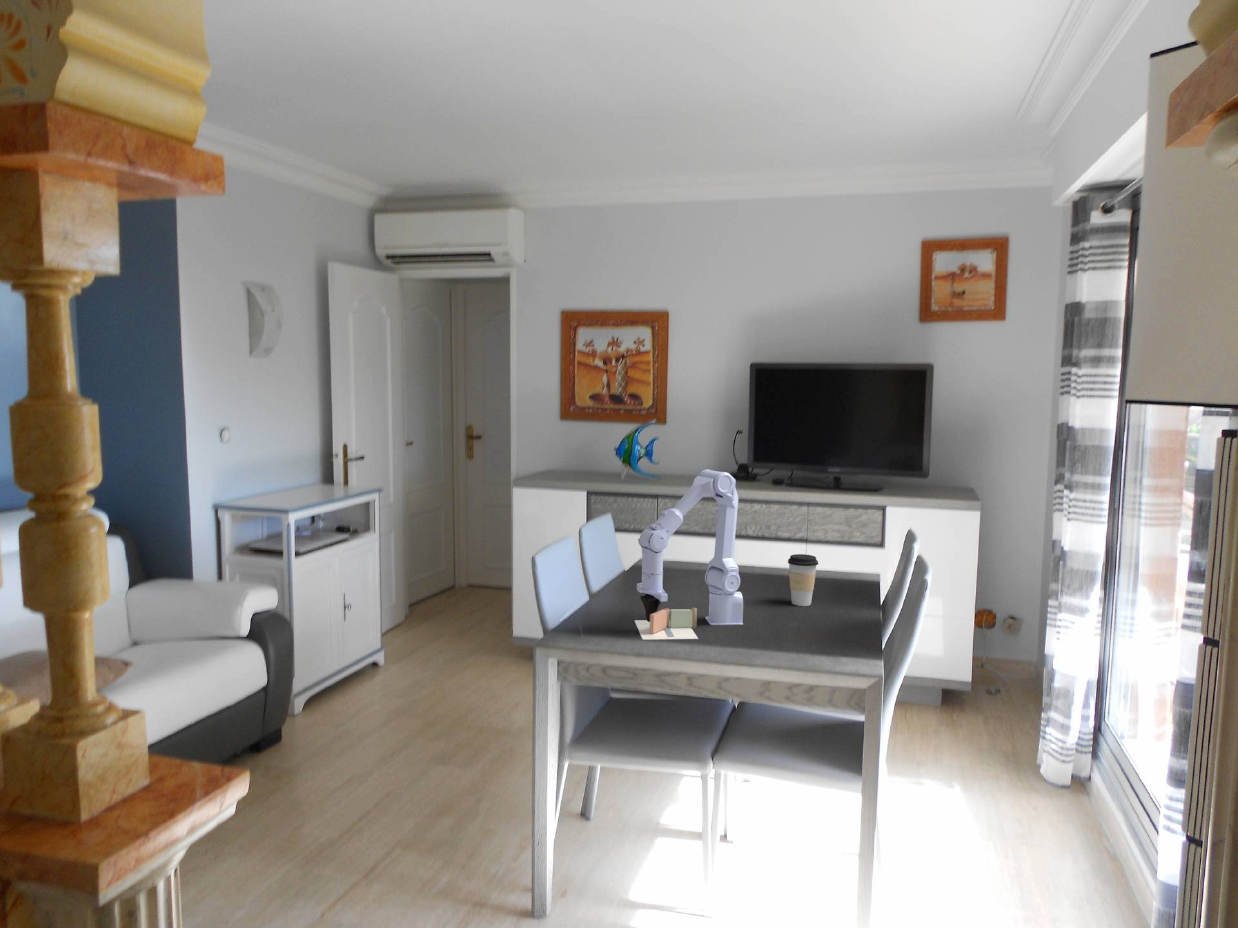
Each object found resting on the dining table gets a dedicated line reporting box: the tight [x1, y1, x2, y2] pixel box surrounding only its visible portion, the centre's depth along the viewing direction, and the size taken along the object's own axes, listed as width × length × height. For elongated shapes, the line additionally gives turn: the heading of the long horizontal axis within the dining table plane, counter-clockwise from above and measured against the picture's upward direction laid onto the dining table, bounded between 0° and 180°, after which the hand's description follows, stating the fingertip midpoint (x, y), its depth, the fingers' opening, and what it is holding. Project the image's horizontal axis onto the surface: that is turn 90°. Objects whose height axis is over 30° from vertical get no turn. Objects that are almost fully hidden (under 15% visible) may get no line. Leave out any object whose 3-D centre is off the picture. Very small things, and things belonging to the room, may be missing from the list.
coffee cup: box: [787, 553, 819, 607], centre depth 275 cm, size 9×9×15 cm
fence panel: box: [650, 607, 670, 634], centre depth 242 cm, size 9×2×5 cm, turn 147°
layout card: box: [634, 619, 699, 641], centre depth 244 cm, size 15×19×1 cm
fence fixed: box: [669, 607, 698, 629], centre depth 246 cm, size 7×2×5 cm, turn 96°
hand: (651, 621), depth 242 cm, fingers closed, pressing on fence panel
